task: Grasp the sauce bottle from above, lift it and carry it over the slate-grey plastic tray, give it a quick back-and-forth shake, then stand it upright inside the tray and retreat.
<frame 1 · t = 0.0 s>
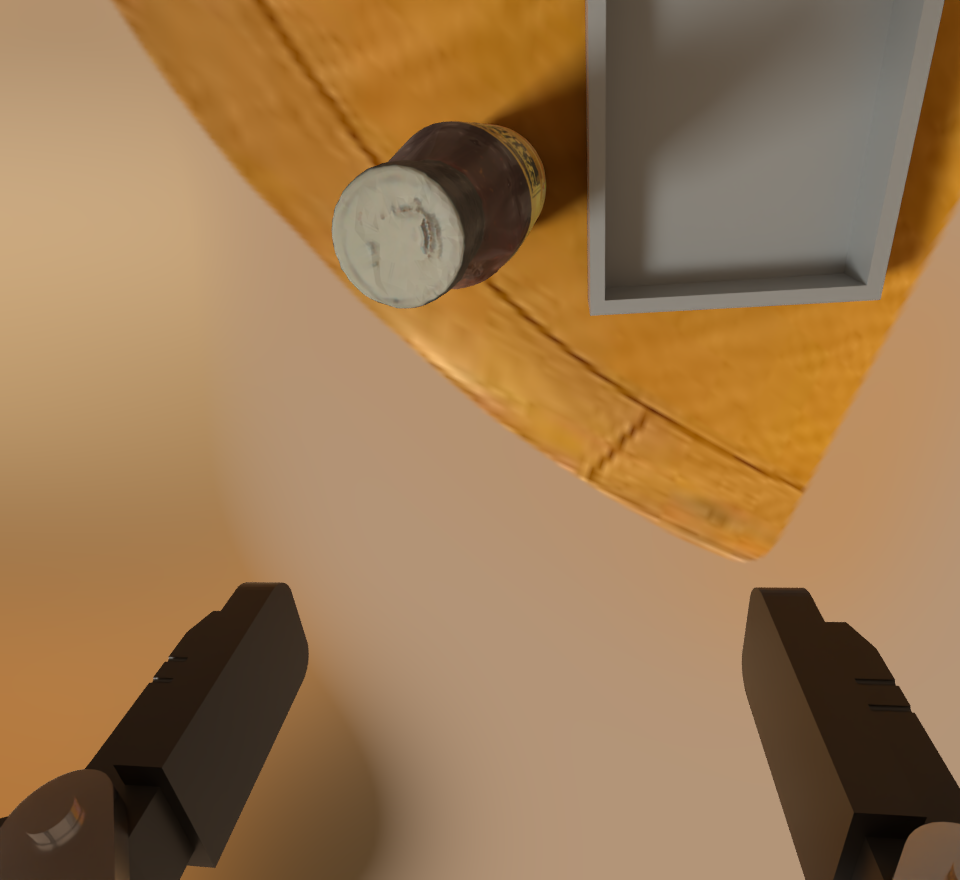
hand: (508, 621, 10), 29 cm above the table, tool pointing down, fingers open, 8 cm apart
sauce bottle: (490, 184, 35), on the table
tray: (732, 100, 31), on the table
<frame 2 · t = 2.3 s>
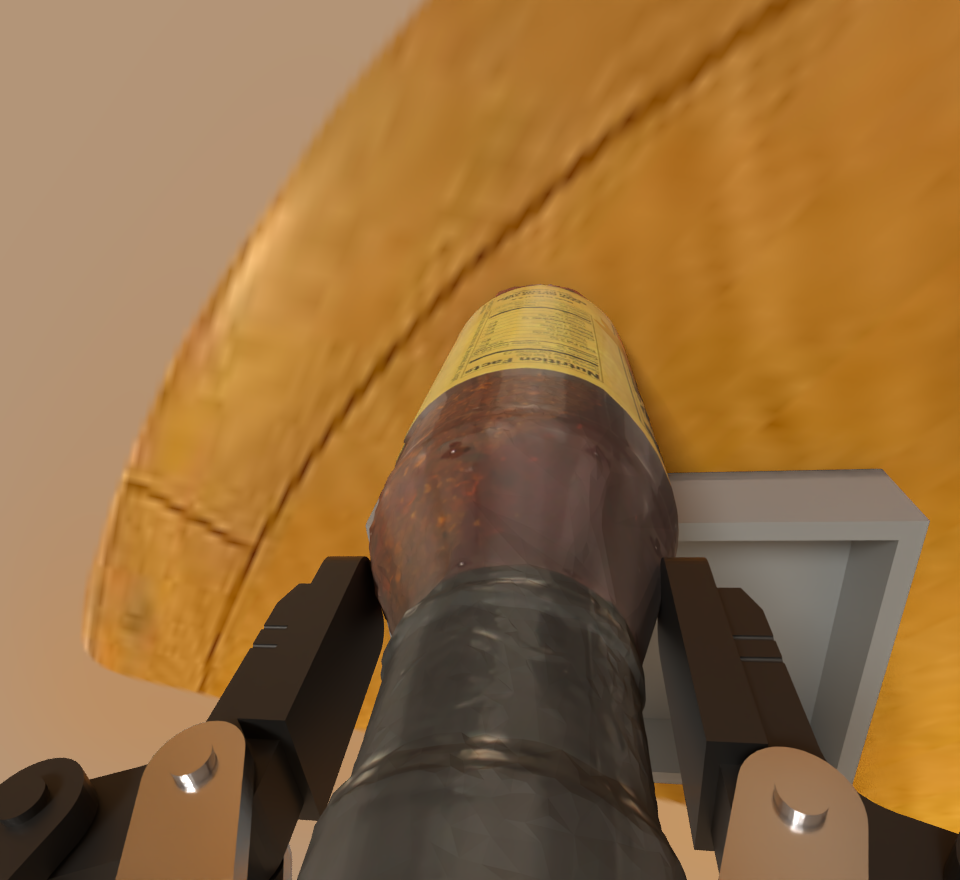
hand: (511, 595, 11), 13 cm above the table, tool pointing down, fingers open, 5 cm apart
sauce bottle: (540, 350, 23), on the table, touching gripper
tray: (618, 610, 28), on the table
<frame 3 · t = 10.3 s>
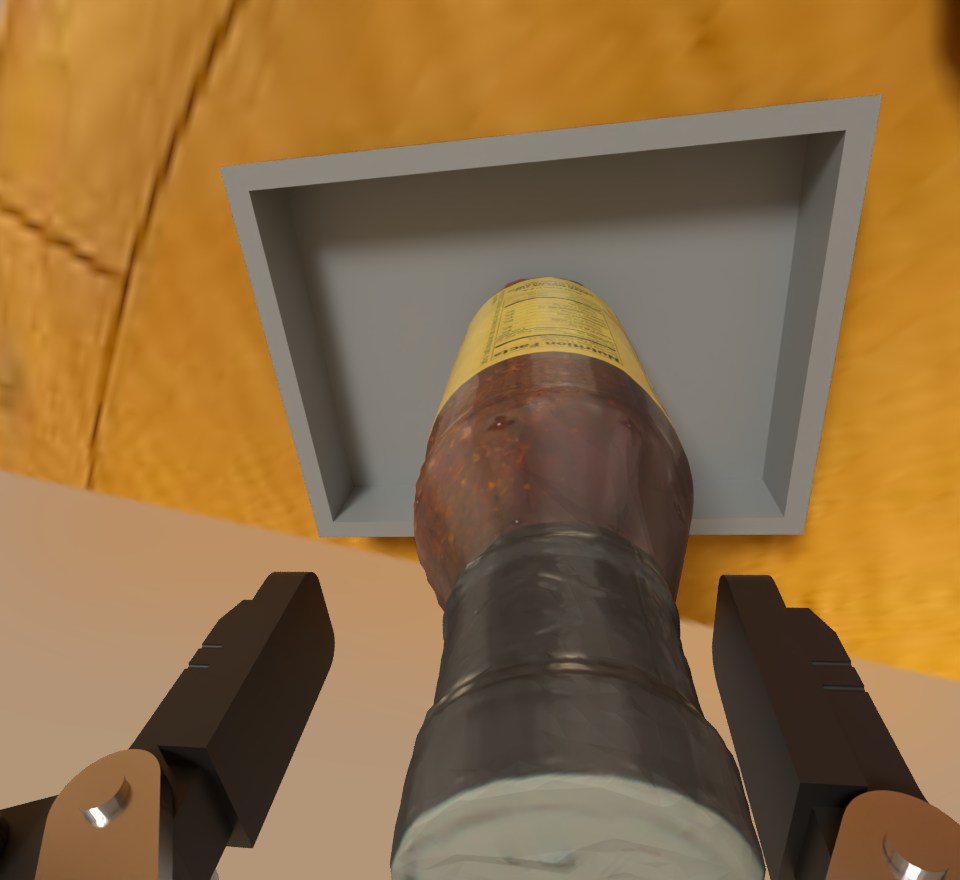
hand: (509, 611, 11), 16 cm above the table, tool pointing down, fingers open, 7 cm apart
sauce bottle: (544, 340, 24), resting on tray
tray: (539, 336, 25), on the table
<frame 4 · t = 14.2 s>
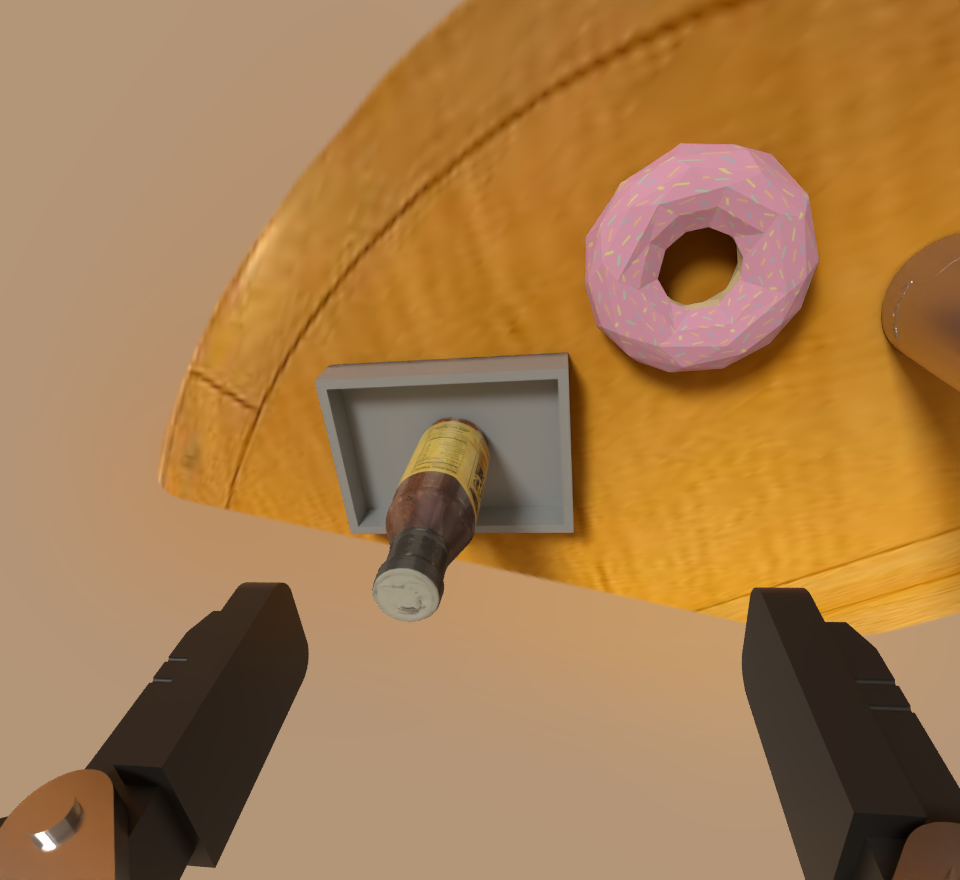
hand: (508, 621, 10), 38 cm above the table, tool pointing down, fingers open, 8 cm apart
donut: (689, 259, 44), on the table
sauce bottle: (457, 442, 52), resting on tray
tray: (455, 439, 53), on the table
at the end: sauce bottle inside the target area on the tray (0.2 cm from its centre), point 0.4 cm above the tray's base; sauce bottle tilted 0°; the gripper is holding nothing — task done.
